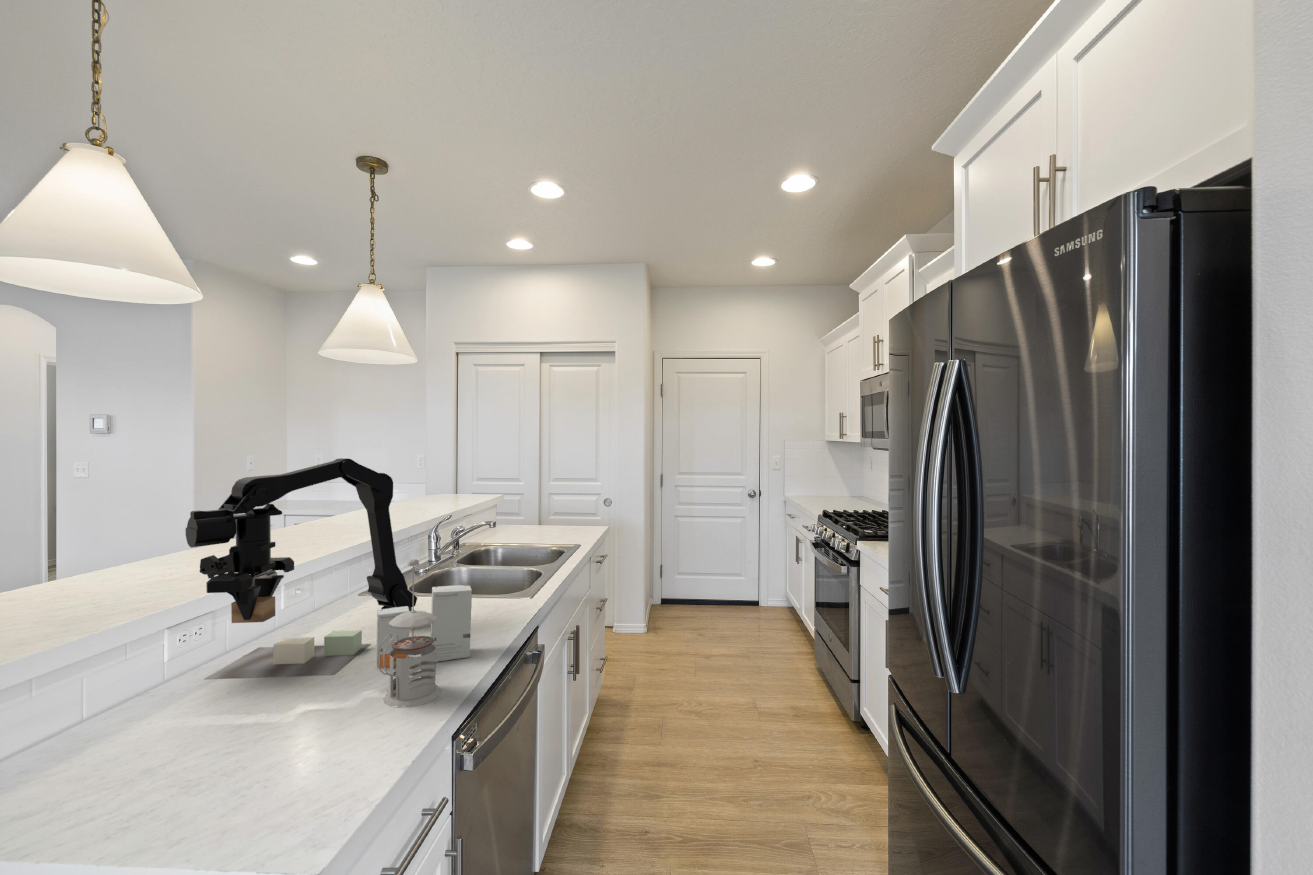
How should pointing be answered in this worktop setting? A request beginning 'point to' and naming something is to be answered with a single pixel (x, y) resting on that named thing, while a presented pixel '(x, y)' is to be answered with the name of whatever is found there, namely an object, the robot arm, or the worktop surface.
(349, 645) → the sage brick
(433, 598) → the skincare box
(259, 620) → the walnut brick
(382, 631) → the skincare box
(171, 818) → the worktop surface
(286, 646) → the cream brick
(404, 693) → the french press
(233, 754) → the worktop surface
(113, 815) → the worktop surface
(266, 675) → the slate board
